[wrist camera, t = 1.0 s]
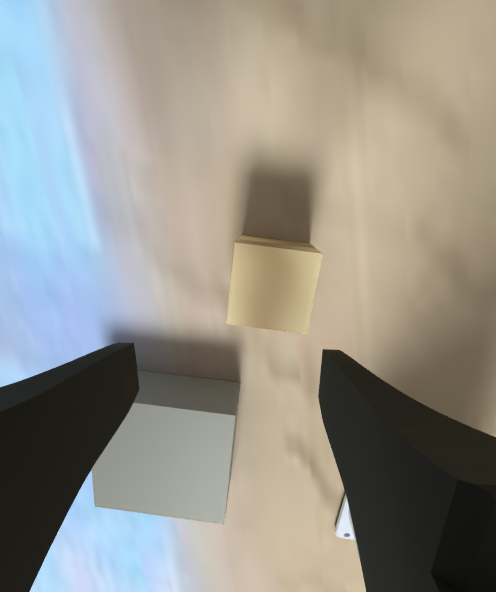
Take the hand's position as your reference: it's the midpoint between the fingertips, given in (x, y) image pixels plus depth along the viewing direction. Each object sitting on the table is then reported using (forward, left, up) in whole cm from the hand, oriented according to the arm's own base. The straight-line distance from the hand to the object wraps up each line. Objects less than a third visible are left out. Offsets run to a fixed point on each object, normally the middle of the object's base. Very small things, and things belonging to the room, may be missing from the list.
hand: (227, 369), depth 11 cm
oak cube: (-2, -2, -10) cm, 10 cm away
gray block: (+4, +12, -10) cm, 16 cm away
